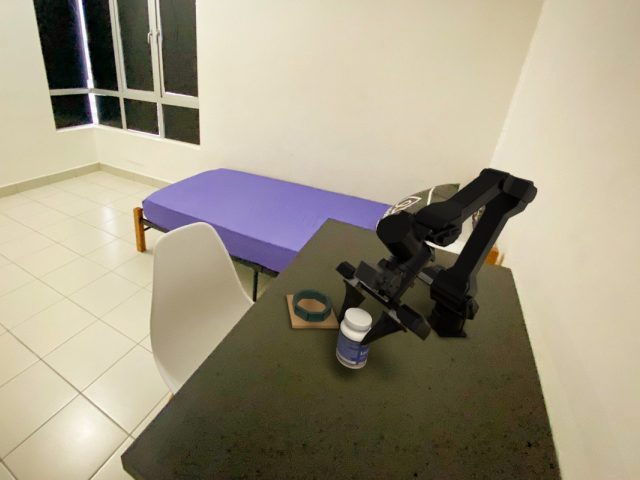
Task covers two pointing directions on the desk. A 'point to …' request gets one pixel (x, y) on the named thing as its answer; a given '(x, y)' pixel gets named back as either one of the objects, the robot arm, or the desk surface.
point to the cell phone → (430, 273)
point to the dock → (311, 310)
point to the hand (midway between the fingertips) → (349, 333)
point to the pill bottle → (353, 338)
